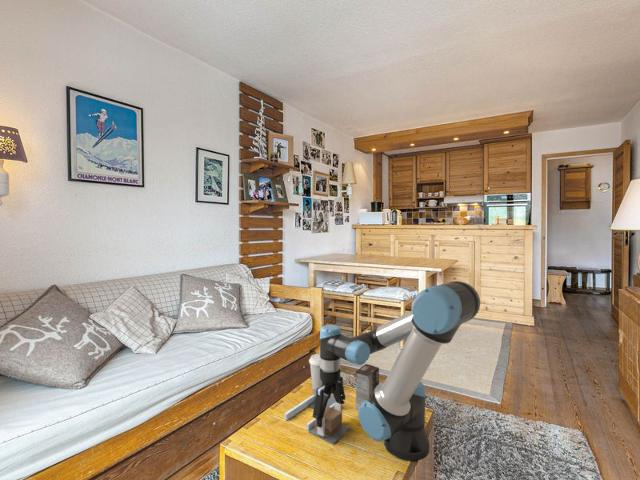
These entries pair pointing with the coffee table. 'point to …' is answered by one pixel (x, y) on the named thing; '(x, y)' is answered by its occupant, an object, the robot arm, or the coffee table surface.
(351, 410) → the coffee table surface
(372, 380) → the coffee box
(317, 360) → the coffee cup
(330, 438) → the slate coaster
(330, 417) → the walnut block
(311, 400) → the channel
